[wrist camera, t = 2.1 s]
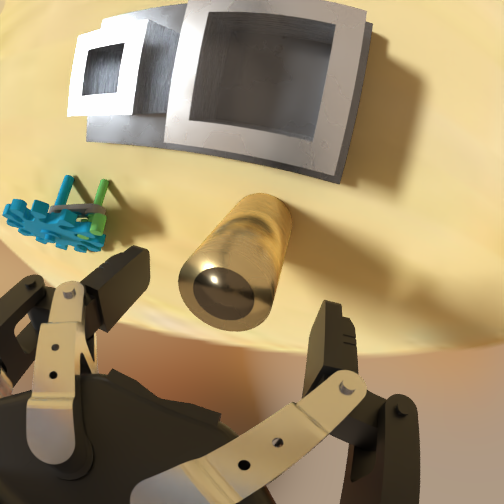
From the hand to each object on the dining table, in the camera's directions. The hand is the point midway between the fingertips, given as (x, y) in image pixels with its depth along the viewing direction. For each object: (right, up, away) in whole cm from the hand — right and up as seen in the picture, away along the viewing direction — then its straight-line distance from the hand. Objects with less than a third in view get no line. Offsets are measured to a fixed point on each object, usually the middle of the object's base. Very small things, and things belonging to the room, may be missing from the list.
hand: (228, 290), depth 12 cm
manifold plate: (-2, +12, +2) cm, 13 cm away
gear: (-14, +5, +10) cm, 18 cm away
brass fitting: (+2, +4, +6) cm, 7 cm away
